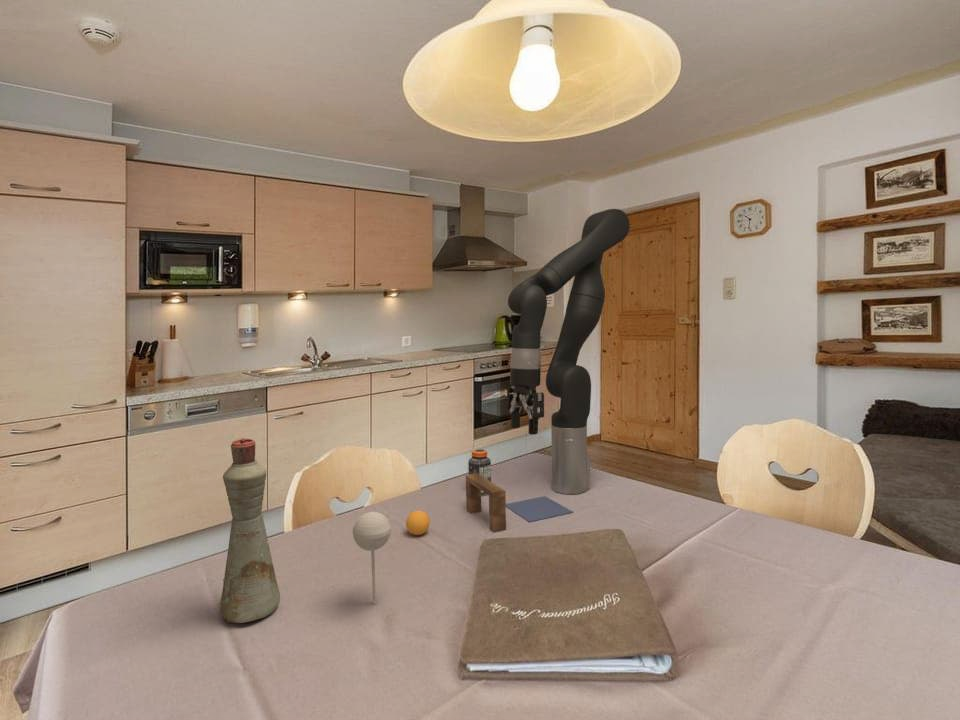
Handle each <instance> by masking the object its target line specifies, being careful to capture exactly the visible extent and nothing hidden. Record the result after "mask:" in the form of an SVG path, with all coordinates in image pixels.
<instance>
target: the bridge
mask: <svg viewBox="0 0 960 720" xmlns="http://www.w3.org/2000/svg"><path fill="white" fill-rule="evenodd" d="M481 491H483V492H484V493H486V494H487V495H486V496H488V509H489V510H488V513H489V514H488V517H489V530H490V531H491V532H492V533H499V532H502V531H506V530H507V510H506V509H507V507H506V504H507V503H506V500H507V499H506V489H504V488H502V487H501V486H499V485H497V484H496V483H494V482H492V480H491V481H489V480H487V479H486V478H484V477H483V476H481V475H479V474H478V473H476V474H469V473H468V474H465V497H466V498H465V499H466V500H465V501H466V503H465V504H466V506H465V507H466V512H467V513H468V514H476V513H480V512H482V496H481Z"/></svg>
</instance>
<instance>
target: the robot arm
mask: <svg viewBox="0 0 960 720" xmlns="http://www.w3.org/2000/svg"><path fill="white" fill-rule="evenodd" d="M629 219H630V218H629V217H628V215H627V213H626V212H625V211H623V210H622V209H619V208H610V209H605V210H602V211H599V212H595V213H593V214H591V215H590V216H588V218H587V219H586V220H585V222H584V225H583V227H582V232H581V238H580V240H579V241H577V242H576V243H574V244H573V245H570V246H569V247H568V248H566V249H564V250H563V251H561V252H560V253H558V254H557V255H556V256H554V257H553V258H552V259H551V260H549V261H548V262H547V263H546V264H544V266H543V267H541V269H539V271H536V272H535V274H533V275H530V276H529V277H528V278H526V279H525V280H523V281H522V282H520V283H519V284H517V285H516V286H515V287H514V288H513V289H512V290H511V291H510V293H509V295H508V299H507V305H508V308H509V309H510V310H511V312H512V313H514V314H517V315H520V317H519V322H518V324H516V325H514V327H513V328H512V332H511V333H512V335H511V352H510V353H511V354H510V362H509V363H510V366H509V367H510V369H509V370H510V373H509V384H510V386H508V387H507V391H506V410H507V411H508V410H509V414H511V416H510V417H511V419H510V427H511V428H512V429H519V428H521V410H522V408H523V409H524V411H525V412H526V413H527V416H528V435H531V436H534V435H537V434H538V431H539V428H538V427H539V419H542V418H545V393H544V392H537V387H539V386H540V385H541V374H542V373H541V369H542V368H541V367H542V366H541V364H542V356H541V331H542V327H543V325H544V320H545V316H546V313H547V308H548V307H547V306H548V298H547V296H550V295H553V294H556V293H558V291H560V290H561V289H562V288H564V286H565V285H567V283H569V282H570V281H571V279H572V278H573V279H572V280H573V282H572V286H571V289H570V292H569V295H568V296H569V297H568V300H567V304H566V309H565V313H564V318H563V322H562V325H561V328H560V333H559V336H558V340H557V343H556V347H555V348H554V349H555V350H554V352H553V355H552V358H551V360H550V362H549V366H548V369H547V372H546V376H545V387H546V390H547V392H548V393H549V394H550V395H551V396H553V397H555V398H559V399H560V403H559V410H558V411H556V412H554V413H552V415H551V419H550V420H551V421H550V422H551V423H550V425H551V429H550V430H551V433H550V435H551V489H552V490H553V491H554V492H557V493H560V494H564V495H565V494H566V495H578V494H582V493H585V492H586V491H587V490H590V489H591V454H590V453H589V452H588V419H589V417H590V412H591V402H592V401H591V399H592V380H591V375H590V373H589V371H588V369H586V368H585V367H584V366H581V365H577V363H578V359H579V356H580V351H581V349H582V347H583V346H584V344H585V343H586V341H587V339H588V338H589V337H590V335H591V334H592V332H593V331H594V330H595V328H596V327H597V325H598V323H599V322H600V319H601V315H602V311H603V307H604V303H605V298H606V290H605V284H604V281H603V275H602V271H601V270H602V268H601V267H602V263H603V262H602V261H603V257H604V253H605V252H606V251H608V250H610V249H612V248H613V247H615V246H617V245H618V244H620V243H621V242H623V241H624V240H625V239H626V238H627V236H628V234H629V233H630V228H631V224H630V220H629Z"/></svg>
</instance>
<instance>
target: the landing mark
mask: <svg viewBox="0 0 960 720" xmlns="http://www.w3.org/2000/svg"><path fill="white" fill-rule="evenodd" d="M506 509H508V510H510V511H512V513H515V514H516V515H517V516H519V517H521V518H522V519H524V520H525V521H527V522H528V523H533V522H538V521H541V520H546V519H550V518H554V517H559V516H564V515H568V514H573V513H574V511H572V510H571V509H569V508H568V507H566V506H564V505H562V504H560V503H559V502H556V501H554V500H553V499H551V498H549V497H548V496H546V495H545V496H544V495H543V496H540V497H539V496H538V497H535V498H528V499H523V500H519V501H514V502H510V503H509V502H508V503H506Z"/></svg>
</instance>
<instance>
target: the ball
mask: <svg viewBox="0 0 960 720" xmlns="http://www.w3.org/2000/svg"><path fill="white" fill-rule="evenodd" d="M405 521H406V522H405V526H406V529H407V531H408V532H409V533H410V534H412V535H415V536H420V535H424V534H425V533H426V532H427V531H428V530H429V527H430V525H431V524H430V522H431V521H430V516H429V515H428V513H426V512H424V511H422V510H419V509H418V510H414V511H412V512H411V513H409V514H408V516H407V517H406V520H405Z"/></svg>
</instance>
